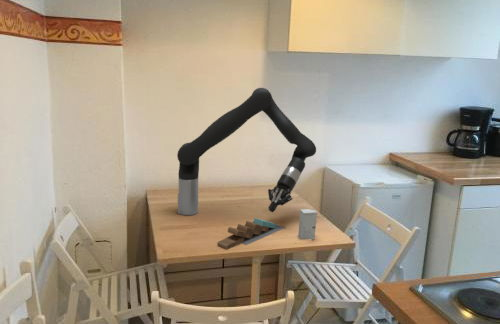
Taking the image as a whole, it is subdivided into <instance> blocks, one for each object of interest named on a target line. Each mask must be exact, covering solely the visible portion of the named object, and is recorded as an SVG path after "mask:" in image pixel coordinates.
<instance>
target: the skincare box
mask: <svg viewBox="0 0 500 324" xmlns="http://www.w3.org/2000/svg"><path fill="white" fill-rule="evenodd" d="M317 213H318V212H317V211H316V209H313V208H306V209H305V208H304V209H303V208H302V209H300V210H299V220H298V221H299V222H298V233H297V236H298V238H300V240H311V241H313V240H315V237H316V229H317V228H316V225H317V217H318V214H317Z"/></svg>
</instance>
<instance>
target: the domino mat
mask: <svg viewBox="0 0 500 324" xmlns="http://www.w3.org/2000/svg"><path fill="white" fill-rule="evenodd" d="M275 224H276V227H275V228H270V227H269V230H268V232H266V231H261V234H260V235H257V234H253V236H252V239H250V238H246V237H244V242H243V243H241V244H242V245H245V246H248V245H250V244H252V243H254V242H256V241H258V240H261V239H264V238H265V237H268V236H270V235H273V234H275V233H277V232H279V231H282V230H284V229H286V227H285V226H282V225H280V224H277V223H275Z"/></svg>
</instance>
